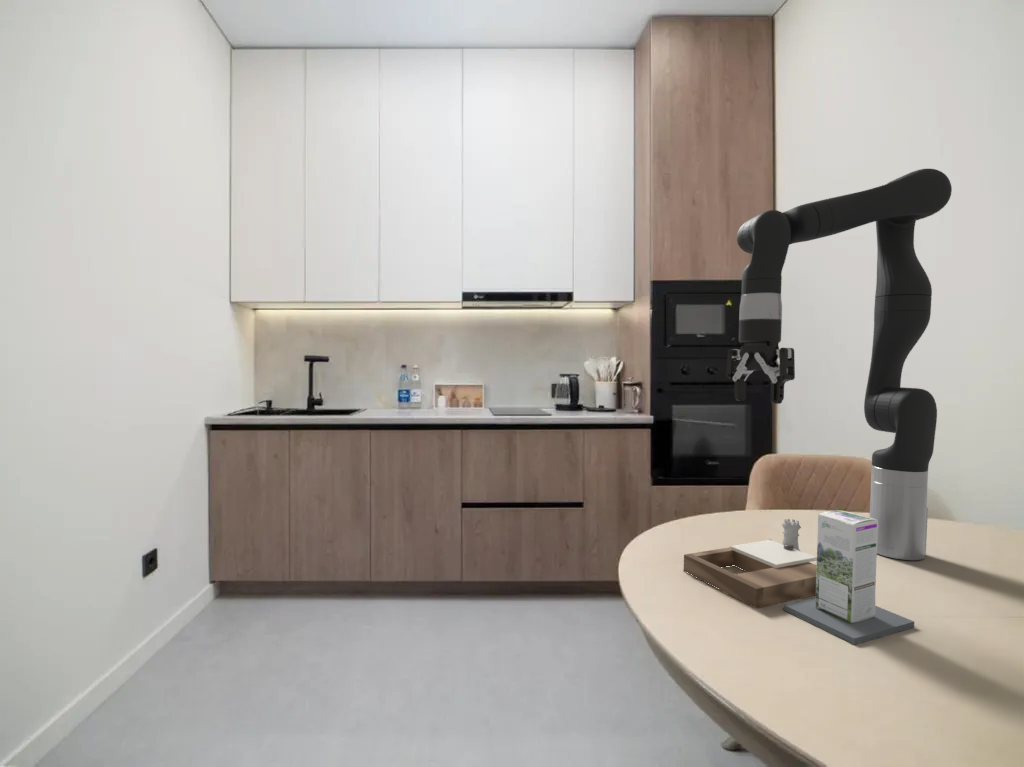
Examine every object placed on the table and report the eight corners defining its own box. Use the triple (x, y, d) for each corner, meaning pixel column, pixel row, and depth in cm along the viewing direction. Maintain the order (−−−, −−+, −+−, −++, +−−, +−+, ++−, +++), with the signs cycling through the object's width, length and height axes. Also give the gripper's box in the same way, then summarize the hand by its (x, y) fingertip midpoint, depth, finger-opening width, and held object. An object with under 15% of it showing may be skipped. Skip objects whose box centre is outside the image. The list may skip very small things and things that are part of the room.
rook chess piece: (806, 568, 101) (808, 525, 100) (780, 565, 101) (782, 523, 101) (798, 559, 105) (800, 518, 105) (773, 557, 106) (775, 516, 105)
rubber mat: (840, 596, 88) (841, 591, 88) (914, 627, 78) (914, 621, 78) (783, 609, 83) (783, 604, 83) (853, 644, 73) (854, 638, 73)
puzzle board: (757, 558, 105) (757, 542, 105) (835, 590, 91) (836, 572, 90) (683, 571, 98) (684, 554, 98) (755, 608, 83) (756, 588, 83)
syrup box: (876, 617, 79) (880, 518, 79) (850, 624, 77) (854, 522, 76) (838, 601, 84) (842, 508, 84) (813, 608, 82) (816, 512, 81)
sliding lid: (769, 542, 105) (769, 536, 105) (817, 560, 96) (817, 553, 96) (730, 549, 101) (730, 542, 101) (776, 568, 92) (776, 561, 92)
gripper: (806, 316, 101) (803, 404, 101) (745, 321, 114) (743, 399, 114) (777, 314, 98) (774, 405, 98) (718, 320, 111) (715, 399, 111)
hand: (757, 401), depth 106 cm, fingers open, 8 cm apart
